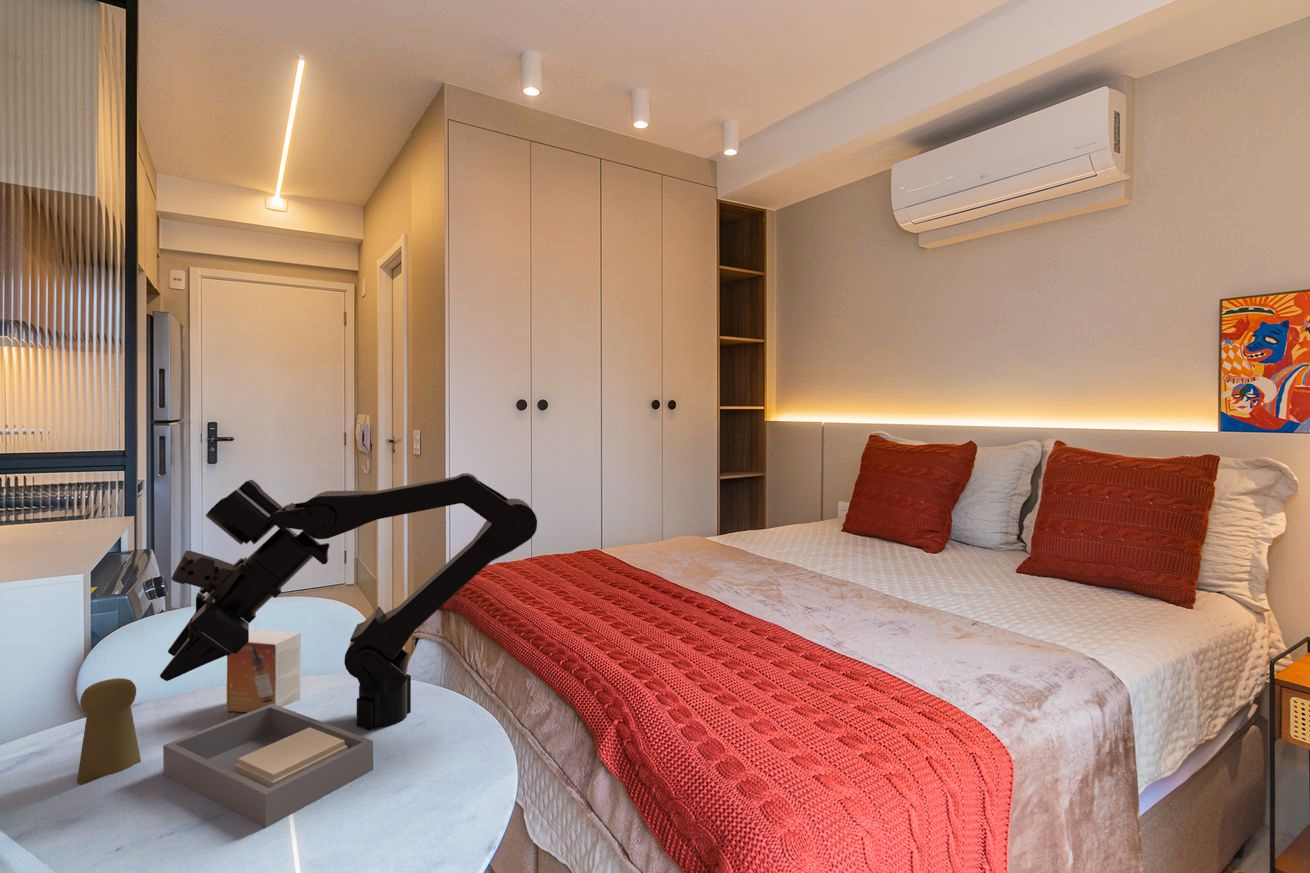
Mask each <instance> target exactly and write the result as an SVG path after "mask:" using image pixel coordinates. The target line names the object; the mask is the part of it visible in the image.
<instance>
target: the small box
mask: <svg viewBox="0 0 1310 873" xmlns="http://www.w3.org/2000/svg"><path fill="white" fill-rule="evenodd" d="M301 648H302V633H301V632H295V631H294V632H291V631H276V630H275V631H274V630H266V629H265V630H263V629H258V628H257V629H256V628H255V629H254V628H253V629H252V630H249V642H248V643H247V644H246V645H245V646H244V647H243V648H242V649H241V650H240V651H239V652H238V653H237V654H234V653H232V654H231V655H229V656H226V711H227V712H240V713H249V712H251V711H254V710H257V709H259V708H262V707H265V706H267V705H270V704H275V705H277V706H280V707H283V708H284V707H285V706H288V705H291V704H293V703H296V702H298V701H300V700H301V674H302V673H301V671H302V670H301V669H302V667H301V666H302V665H301V663H302V661H301V660H302V656H301V655H302V653H301V652H302V650H301Z"/></svg>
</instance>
